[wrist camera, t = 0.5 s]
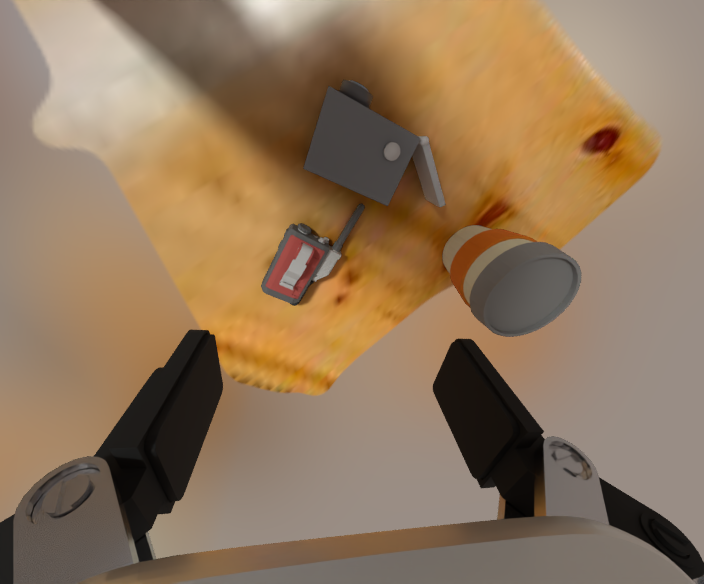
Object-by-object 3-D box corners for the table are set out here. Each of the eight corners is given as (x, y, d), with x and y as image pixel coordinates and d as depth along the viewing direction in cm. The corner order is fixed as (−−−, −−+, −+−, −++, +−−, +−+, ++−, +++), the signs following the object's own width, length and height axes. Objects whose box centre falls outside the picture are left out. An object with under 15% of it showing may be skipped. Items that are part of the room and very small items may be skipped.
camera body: (304, 163, 33) (303, 169, 28) (331, 76, 29) (335, 63, 24) (379, 197, 37) (390, 208, 31) (413, 123, 32) (432, 122, 27)
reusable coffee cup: (502, 201, 39) (591, 233, 27) (504, 267, 46) (576, 317, 33) (425, 232, 40) (476, 277, 28) (438, 292, 47) (484, 350, 35)
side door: (425, 199, 37) (439, 208, 33) (405, 138, 33) (420, 138, 29) (433, 194, 37) (449, 203, 33) (415, 132, 33) (431, 132, 28)
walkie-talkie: (306, 305, 45) (367, 205, 37) (306, 320, 42) (373, 213, 34) (258, 286, 42) (314, 172, 34) (253, 300, 38) (314, 177, 30)
